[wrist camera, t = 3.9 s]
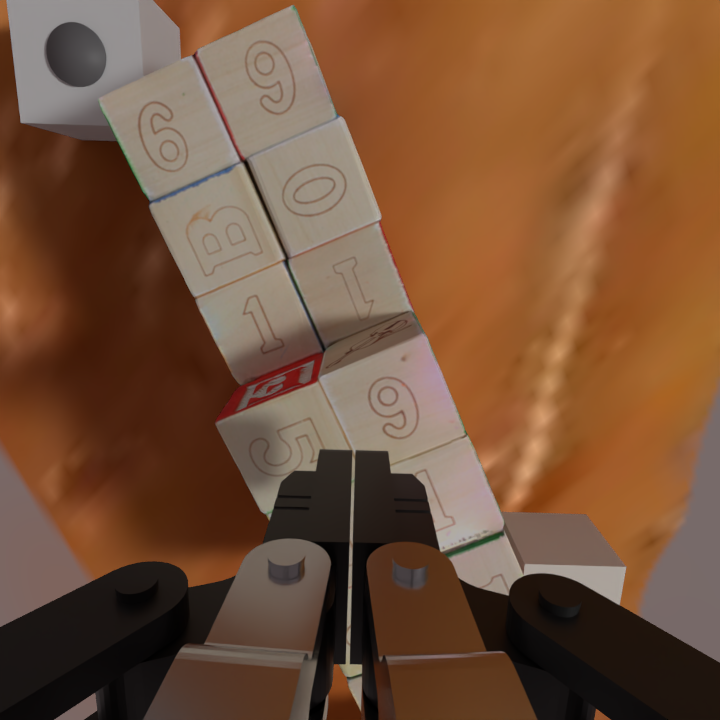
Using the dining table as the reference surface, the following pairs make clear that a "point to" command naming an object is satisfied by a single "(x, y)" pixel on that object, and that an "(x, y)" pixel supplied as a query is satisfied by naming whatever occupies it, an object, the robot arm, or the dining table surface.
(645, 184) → the dining table surface
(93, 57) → the grey marked cube
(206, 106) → the stack of blocks
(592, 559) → the ivory marked cube
